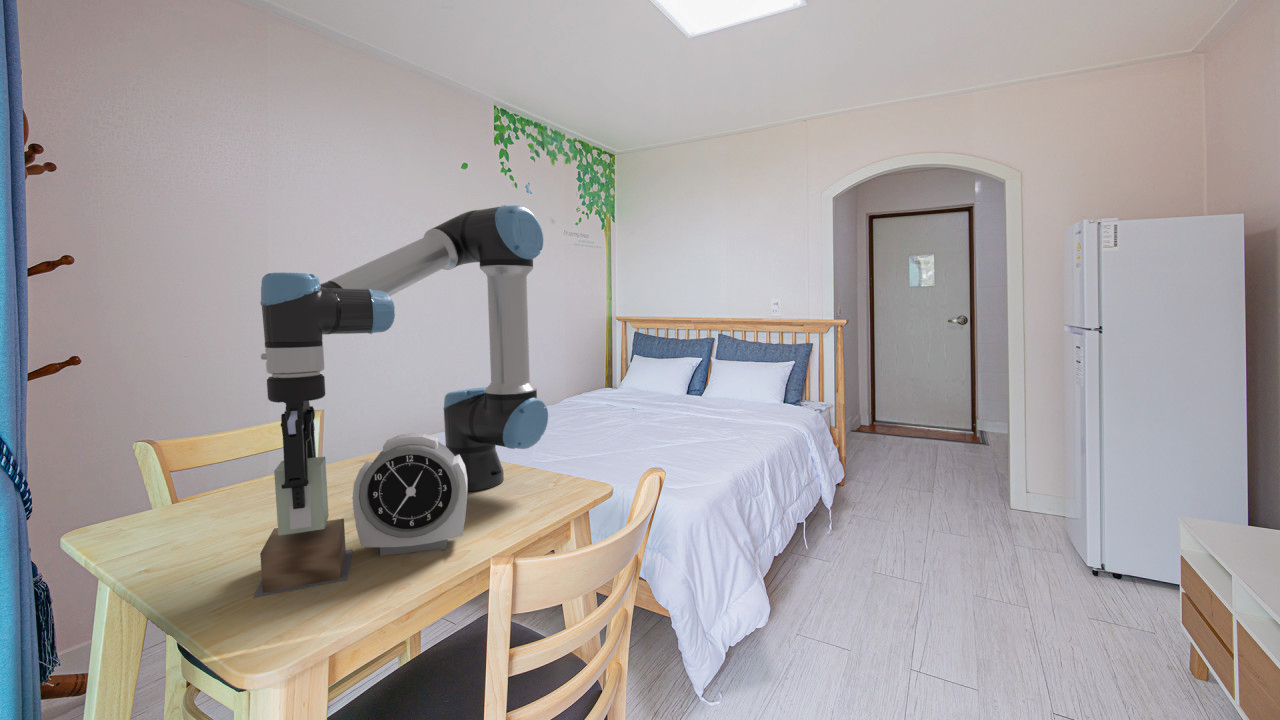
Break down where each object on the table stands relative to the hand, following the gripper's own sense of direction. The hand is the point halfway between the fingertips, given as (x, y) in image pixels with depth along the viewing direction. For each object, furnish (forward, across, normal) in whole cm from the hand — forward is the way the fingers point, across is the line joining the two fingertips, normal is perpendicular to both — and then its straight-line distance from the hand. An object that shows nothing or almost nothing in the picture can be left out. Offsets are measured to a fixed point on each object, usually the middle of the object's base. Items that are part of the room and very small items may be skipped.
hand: (304, 519), depth 84 cm
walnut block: (+8, 0, 0) cm, 8 cm away
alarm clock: (+9, -3, +16) cm, 19 cm away
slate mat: (+9, 0, 0) cm, 9 cm away
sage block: (+1, 0, 0) cm, 1 cm away
